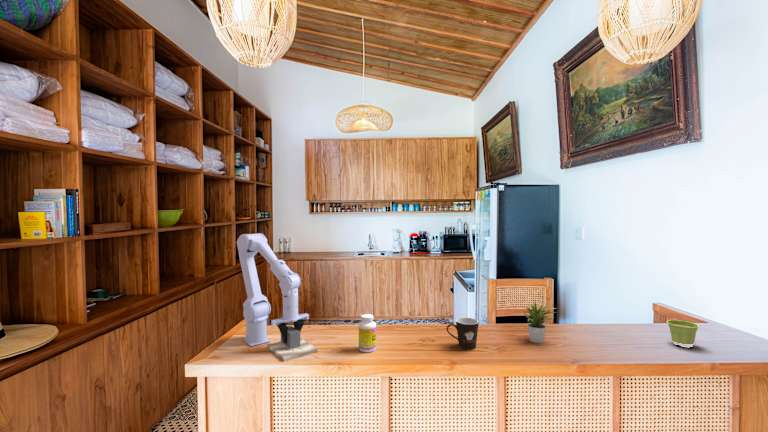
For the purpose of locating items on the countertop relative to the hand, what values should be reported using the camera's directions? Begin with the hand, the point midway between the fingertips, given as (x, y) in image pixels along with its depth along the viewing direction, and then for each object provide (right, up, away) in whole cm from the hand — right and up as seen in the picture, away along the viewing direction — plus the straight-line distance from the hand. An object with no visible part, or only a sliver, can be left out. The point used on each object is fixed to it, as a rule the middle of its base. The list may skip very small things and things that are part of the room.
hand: (290, 341), depth 131 cm
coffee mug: (+67, -3, +2) cm, 67 cm away
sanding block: (0, -2, 0) cm, 2 cm away
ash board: (+1, -3, -1) cm, 3 cm away
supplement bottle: (+30, -3, -1) cm, 30 cm away
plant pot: (+152, -2, +1) cm, 152 cm away
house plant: (+97, -3, +5) cm, 97 cm away
